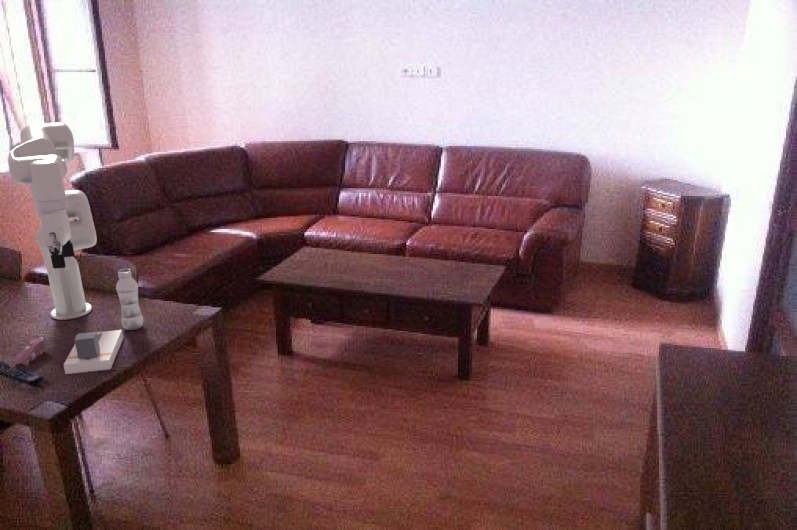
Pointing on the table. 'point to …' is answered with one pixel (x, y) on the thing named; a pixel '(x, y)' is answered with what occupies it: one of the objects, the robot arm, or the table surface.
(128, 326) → the plastic bottle
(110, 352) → the fader console
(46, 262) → the robot arm
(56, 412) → the table surface
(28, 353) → the pink toy car
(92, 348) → the fader tab
